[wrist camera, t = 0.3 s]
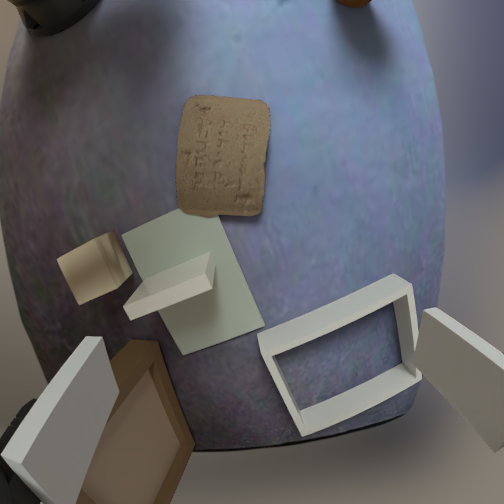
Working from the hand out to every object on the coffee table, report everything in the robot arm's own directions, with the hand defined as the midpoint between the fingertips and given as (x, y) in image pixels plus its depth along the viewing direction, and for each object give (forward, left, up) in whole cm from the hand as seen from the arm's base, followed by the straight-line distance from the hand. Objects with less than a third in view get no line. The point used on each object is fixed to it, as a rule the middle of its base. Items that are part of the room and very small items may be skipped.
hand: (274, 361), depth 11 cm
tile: (+1, -8, -25) cm, 27 cm away
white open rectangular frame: (+22, +8, -26) cm, 35 cm away
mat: (+3, -7, -26) cm, 27 cm away
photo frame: (+17, -25, -26) cm, 40 cm away
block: (-4, -17, -26) cm, 32 cm away
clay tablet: (-10, +2, -26) cm, 28 cm away
